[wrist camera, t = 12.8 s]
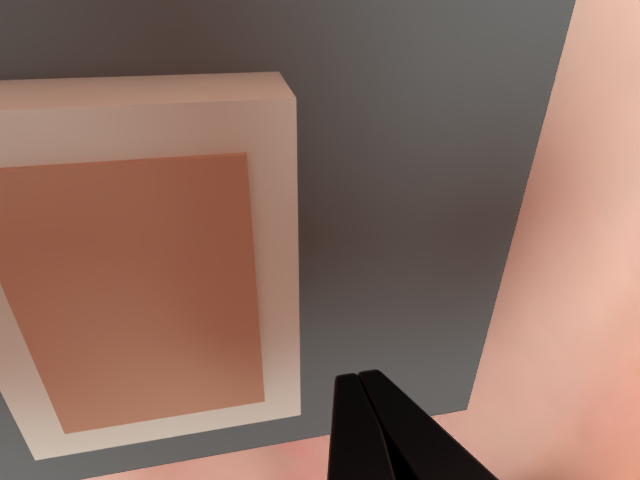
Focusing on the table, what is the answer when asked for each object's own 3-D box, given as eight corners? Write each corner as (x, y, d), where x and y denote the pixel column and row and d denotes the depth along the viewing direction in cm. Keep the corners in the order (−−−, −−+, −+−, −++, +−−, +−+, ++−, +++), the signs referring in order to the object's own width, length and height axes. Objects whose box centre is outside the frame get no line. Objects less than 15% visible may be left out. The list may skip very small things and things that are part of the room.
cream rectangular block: (301, 419, 13) (33, 465, 12) (287, 355, 15) (59, 388, 14) (297, 100, 9) (-145, 119, 7) (279, 71, 11) (-66, 82, 9)
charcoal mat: (459, 398, 20) (466, 409, 19) (-80, 492, 16) (-90, 509, 15) (584, -100, 11) (603, -103, 10) (-568, -151, 7) (-627, -159, 7)
